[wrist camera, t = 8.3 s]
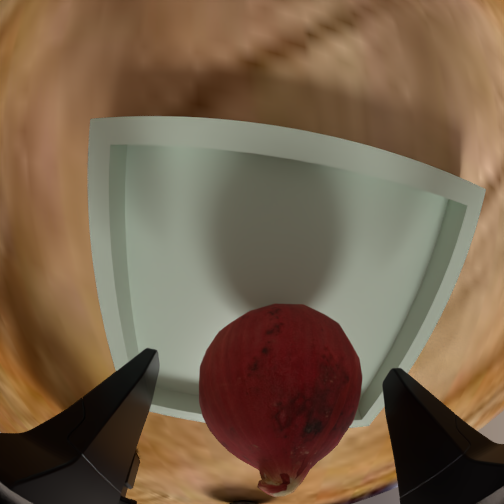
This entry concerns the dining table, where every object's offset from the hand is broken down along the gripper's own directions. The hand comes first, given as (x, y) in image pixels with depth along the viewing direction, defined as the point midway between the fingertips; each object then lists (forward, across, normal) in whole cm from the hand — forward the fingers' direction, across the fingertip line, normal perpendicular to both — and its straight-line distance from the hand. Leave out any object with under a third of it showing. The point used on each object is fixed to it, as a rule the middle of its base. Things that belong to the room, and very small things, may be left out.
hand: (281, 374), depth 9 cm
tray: (+4, 0, 0) cm, 4 cm away
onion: (+4, 0, 0) cm, 4 cm away
